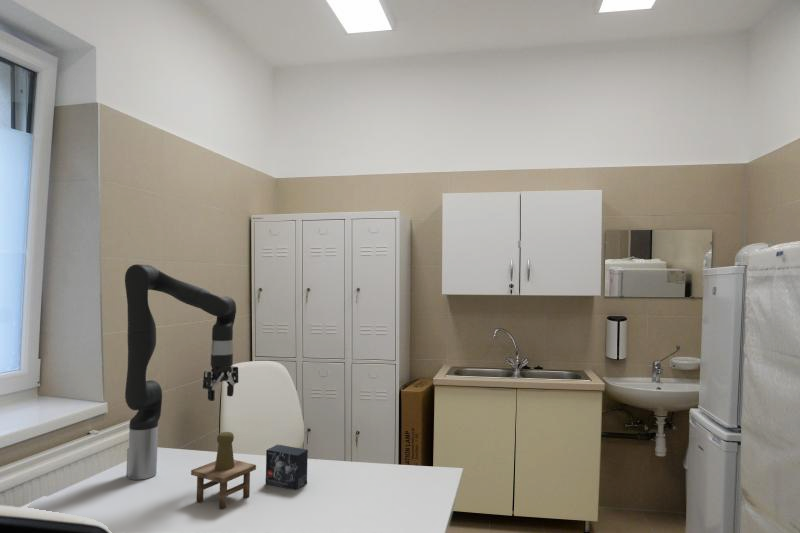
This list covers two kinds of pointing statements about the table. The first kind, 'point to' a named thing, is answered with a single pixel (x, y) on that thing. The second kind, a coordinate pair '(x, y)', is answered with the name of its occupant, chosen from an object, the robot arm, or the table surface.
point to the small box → (286, 467)
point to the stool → (223, 479)
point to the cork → (225, 451)
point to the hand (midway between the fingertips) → (220, 398)
